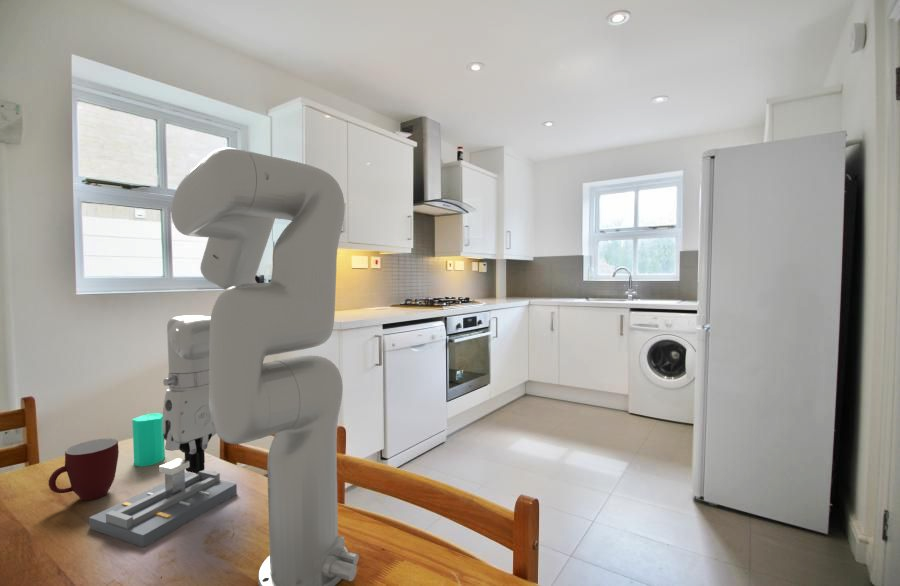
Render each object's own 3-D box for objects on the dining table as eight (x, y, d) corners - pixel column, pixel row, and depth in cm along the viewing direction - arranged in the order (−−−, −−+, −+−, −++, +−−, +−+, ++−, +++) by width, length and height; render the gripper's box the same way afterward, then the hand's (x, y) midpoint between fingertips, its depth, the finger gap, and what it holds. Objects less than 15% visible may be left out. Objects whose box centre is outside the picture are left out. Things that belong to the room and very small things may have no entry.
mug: (62, 517, 77) (59, 463, 77) (42, 506, 81) (40, 454, 81) (128, 491, 87) (126, 442, 86) (108, 482, 90) (106, 435, 90)
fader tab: (190, 491, 82) (189, 460, 82) (172, 500, 79) (170, 468, 78) (178, 488, 83) (177, 458, 83) (160, 497, 80) (159, 466, 80)
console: (236, 493, 85) (236, 476, 85) (143, 547, 69) (142, 526, 69) (187, 481, 91) (186, 465, 90) (89, 528, 74) (88, 508, 74)
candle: (140, 468, 97) (138, 416, 96) (129, 462, 100) (127, 411, 99) (169, 459, 102) (167, 409, 101) (157, 453, 105) (156, 405, 104)
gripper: (167, 390, 75) (171, 492, 76) (238, 372, 89) (240, 458, 90) (139, 386, 78) (143, 484, 79) (212, 369, 92) (215, 453, 93)
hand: (195, 470), depth 85 cm, fingers closed
